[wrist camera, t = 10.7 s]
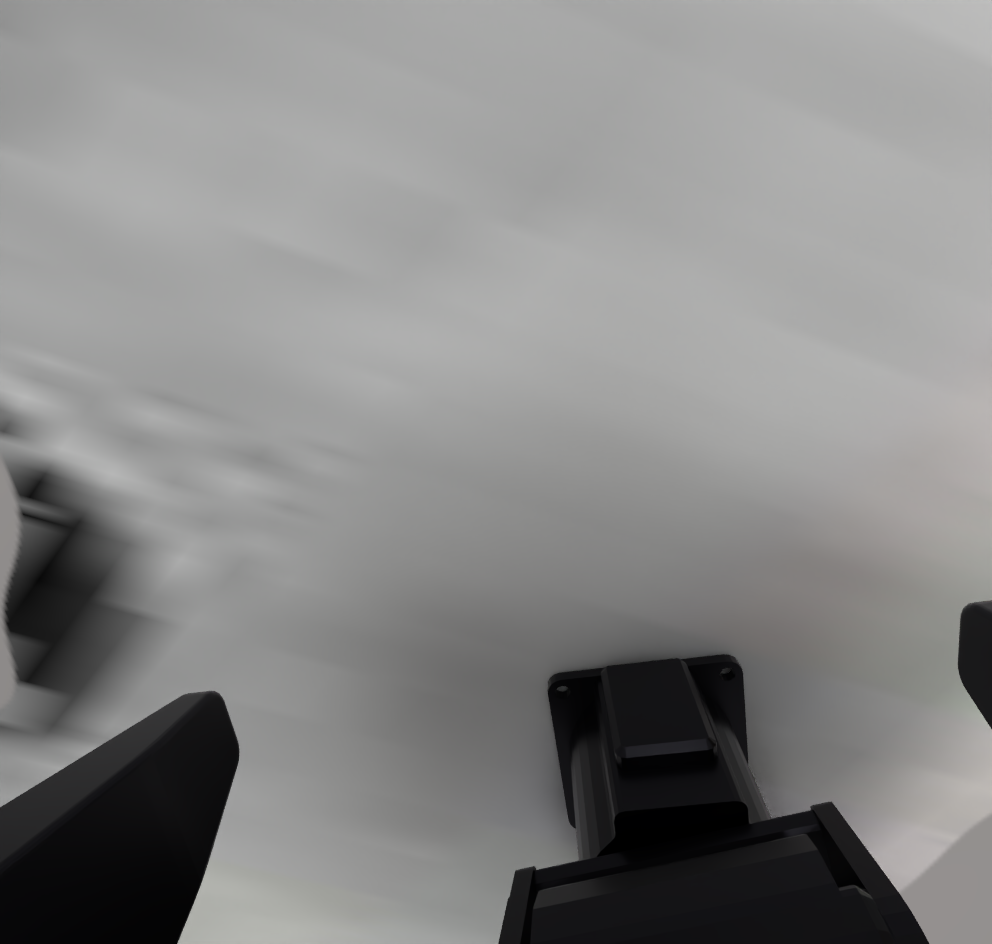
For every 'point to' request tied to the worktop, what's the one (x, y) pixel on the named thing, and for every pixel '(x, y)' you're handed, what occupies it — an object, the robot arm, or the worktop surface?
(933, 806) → the worktop surface
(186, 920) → the robot arm
